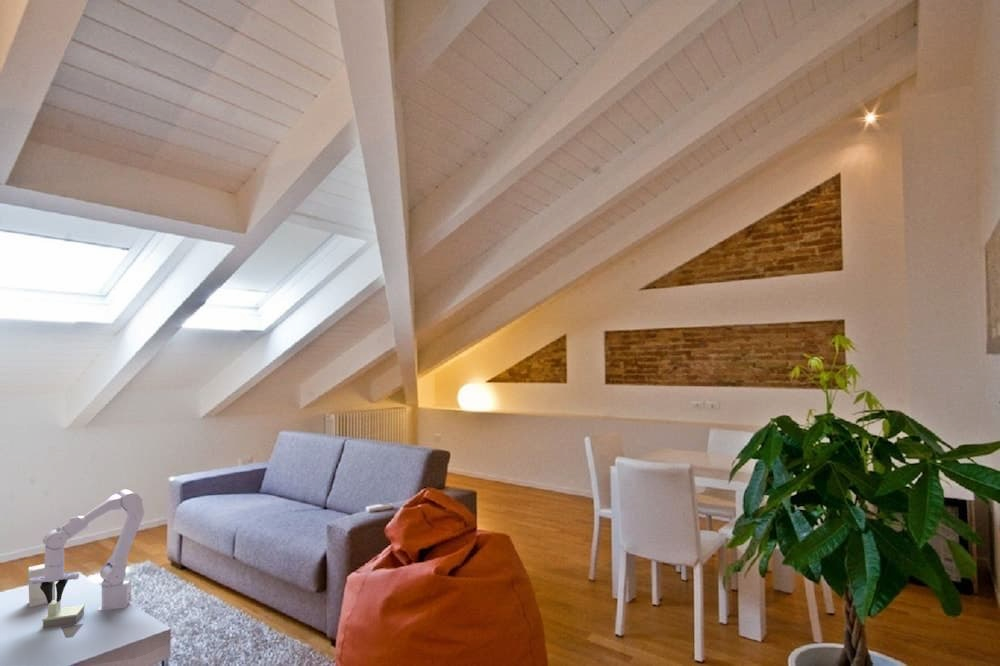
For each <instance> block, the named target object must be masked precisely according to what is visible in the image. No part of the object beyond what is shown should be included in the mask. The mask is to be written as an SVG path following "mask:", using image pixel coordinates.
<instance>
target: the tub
mask: <svg viewBox="0 0 1000 666" xmlns="http://www.w3.org/2000/svg"><path fill="white" fill-rule="evenodd" d="M84 614H85V607H84V608H83V609H82V610H81V611H80V613H79V614H78V615H77V616H73V617H66V618H59V619H52V620H45V621H42V628H44V629H45V628H51V627H58V626H68V625H76V624H77V623H78V622H79V621H80V620H81V618H82V617H83V616H84Z"/></svg>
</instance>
